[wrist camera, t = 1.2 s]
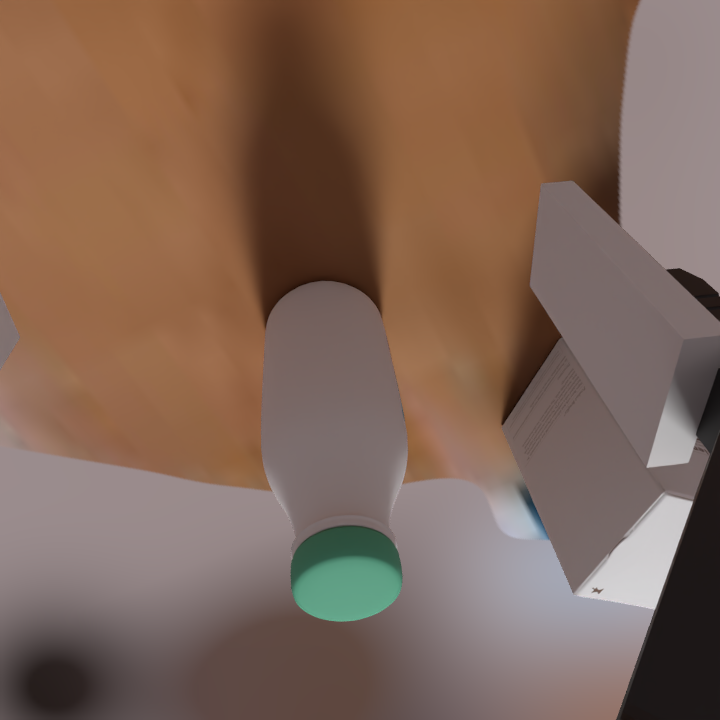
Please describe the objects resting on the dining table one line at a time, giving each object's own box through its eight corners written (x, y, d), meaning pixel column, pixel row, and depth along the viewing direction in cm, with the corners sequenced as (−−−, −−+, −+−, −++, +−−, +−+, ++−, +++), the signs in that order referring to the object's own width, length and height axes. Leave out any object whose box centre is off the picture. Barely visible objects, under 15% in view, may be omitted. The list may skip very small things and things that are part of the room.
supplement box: (594, 452, 51) (690, 621, 39) (497, 427, 49) (568, 600, 36) (663, 364, 46) (796, 526, 34) (561, 332, 44) (666, 493, 32)
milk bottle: (241, 320, 41) (210, 589, 25) (337, 253, 39) (372, 499, 23) (313, 393, 45) (328, 666, 29) (404, 336, 43) (476, 596, 27)
